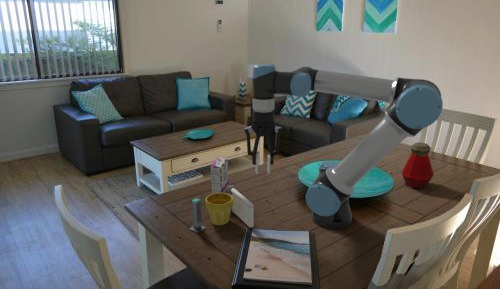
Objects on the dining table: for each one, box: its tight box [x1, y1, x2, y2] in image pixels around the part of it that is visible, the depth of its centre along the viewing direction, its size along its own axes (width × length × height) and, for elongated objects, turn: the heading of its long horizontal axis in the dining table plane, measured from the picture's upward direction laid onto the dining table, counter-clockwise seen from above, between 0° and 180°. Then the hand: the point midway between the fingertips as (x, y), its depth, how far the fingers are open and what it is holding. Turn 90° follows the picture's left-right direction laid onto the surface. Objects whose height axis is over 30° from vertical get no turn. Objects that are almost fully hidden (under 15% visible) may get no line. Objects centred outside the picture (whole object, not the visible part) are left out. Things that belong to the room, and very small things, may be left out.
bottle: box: [401, 141, 435, 189], centre depth 177 cm, size 16×14×20 cm
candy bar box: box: [210, 157, 230, 194], centre depth 166 cm, size 11×5×16 cm, turn 168°
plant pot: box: [205, 193, 233, 226], centre depth 147 cm, size 10×10×10 cm
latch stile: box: [188, 197, 207, 234], centre depth 141 cm, size 4×4×12 cm
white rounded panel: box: [228, 184, 255, 228], centre depth 148 cm, size 18×3×10 cm, turn 29°
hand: (262, 172), depth 141 cm, fingers open, 4 cm apart
